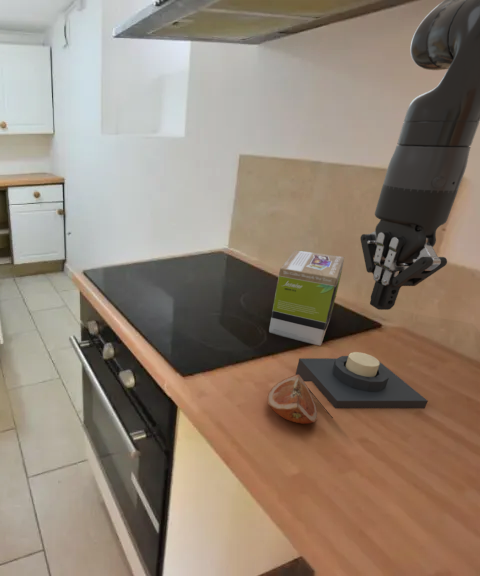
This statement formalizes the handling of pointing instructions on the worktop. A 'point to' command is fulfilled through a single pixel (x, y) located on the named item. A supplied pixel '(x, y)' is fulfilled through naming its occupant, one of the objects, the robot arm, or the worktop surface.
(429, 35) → the robot arm
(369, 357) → the button
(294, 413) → the fruit slice
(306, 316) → the tea box
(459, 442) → the worktop surface
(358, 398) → the dark grey button base
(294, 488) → the worktop surface
